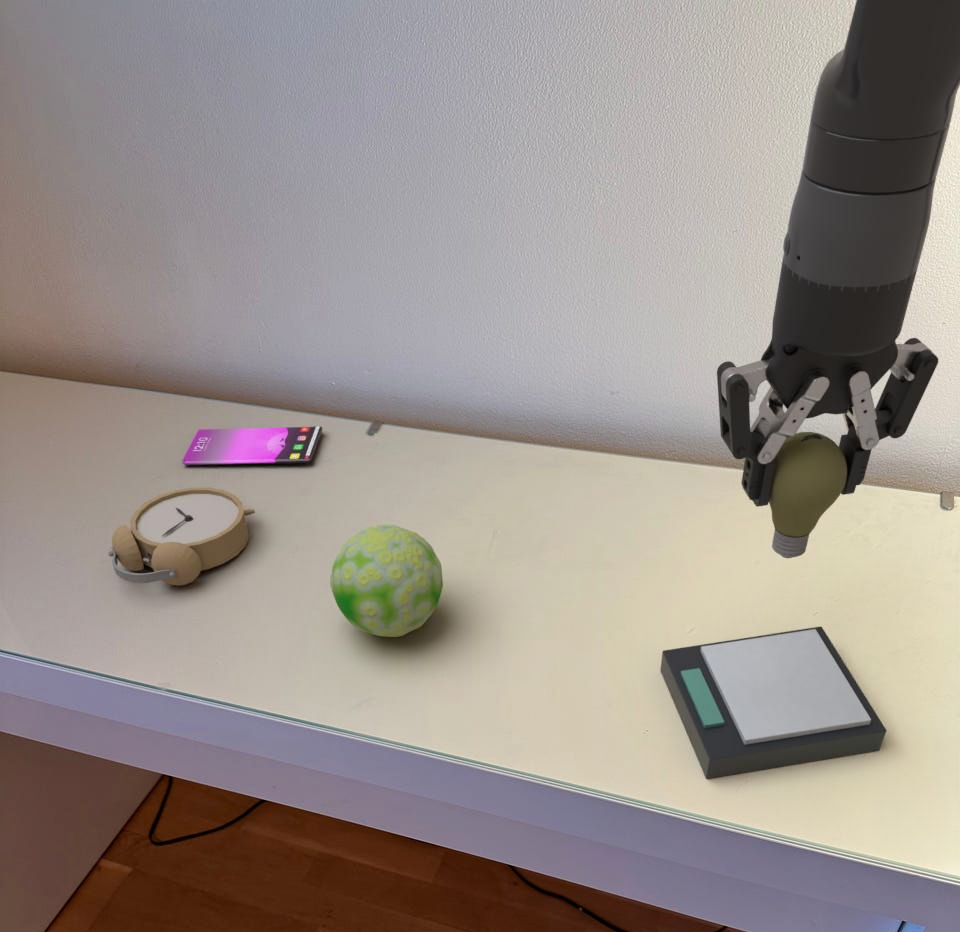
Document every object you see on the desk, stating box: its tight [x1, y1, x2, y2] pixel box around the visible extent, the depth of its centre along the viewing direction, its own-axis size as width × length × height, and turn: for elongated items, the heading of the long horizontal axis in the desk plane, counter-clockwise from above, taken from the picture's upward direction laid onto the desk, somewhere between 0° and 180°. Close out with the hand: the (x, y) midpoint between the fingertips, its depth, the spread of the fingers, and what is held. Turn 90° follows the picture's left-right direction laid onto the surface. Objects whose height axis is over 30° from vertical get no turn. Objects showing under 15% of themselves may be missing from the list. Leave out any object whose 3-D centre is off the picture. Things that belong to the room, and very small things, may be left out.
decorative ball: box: [329, 524, 444, 638], centre depth 85 cm, size 10×10×10 cm
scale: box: [660, 626, 887, 780], centre depth 77 cm, size 14×12×3 cm
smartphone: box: [181, 426, 323, 466], centre depth 111 cm, size 7×15×1 cm, turn 86°
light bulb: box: [768, 431, 847, 559], centre depth 68 cm, size 6×6×10 cm
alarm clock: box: [107, 487, 256, 587], centre depth 96 cm, size 11×5×15 cm
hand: (800, 492), depth 67 cm, fingers closed on light bulb, 5 cm apart
